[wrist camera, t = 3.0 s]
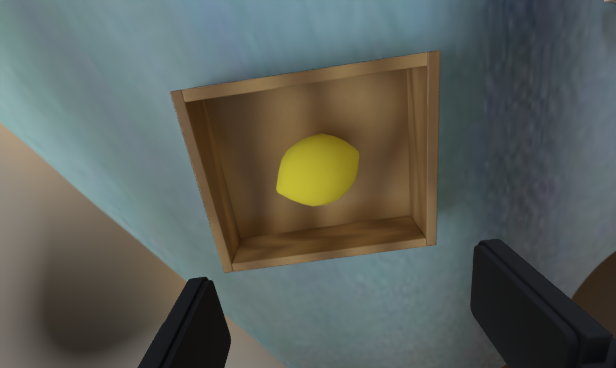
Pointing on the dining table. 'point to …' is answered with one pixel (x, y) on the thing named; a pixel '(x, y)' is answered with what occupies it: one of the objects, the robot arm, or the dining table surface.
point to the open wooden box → (304, 123)
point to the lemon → (317, 170)
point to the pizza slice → (611, 0)
